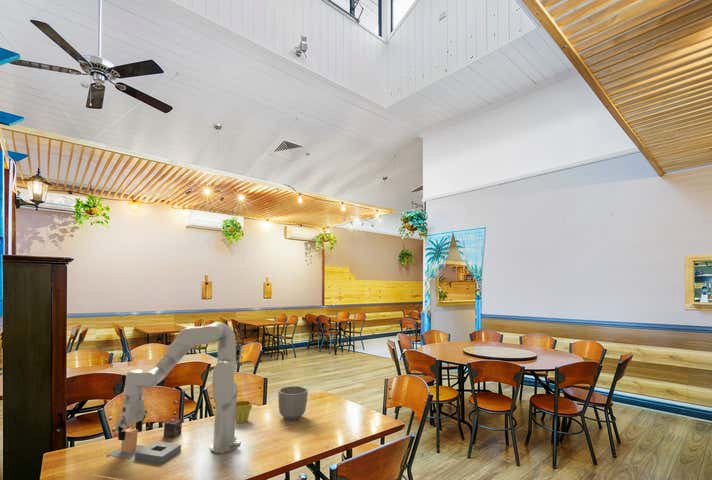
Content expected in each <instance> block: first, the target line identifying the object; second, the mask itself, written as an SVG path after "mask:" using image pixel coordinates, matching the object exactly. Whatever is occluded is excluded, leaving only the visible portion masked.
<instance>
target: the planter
mask: <svg viewBox="0 0 712 480" xmlns="http://www.w3.org/2000/svg"><path fill="white" fill-rule="evenodd" d="M308 395H309V391H308V389H307V388H306V387H304V386H300V385H299V386H298V385H291V386H283V387H280V389H278V394H277V396H278V397H277V398H278V399H277V401H278V411H279V414H280V415H281V416H282V417H283V418H284V420H285V419H286V420H285V421H287V420H289V421H288V422H295V421H299V420H300V418H301V417H302V416H303V415H304V414H305V412H306V409H307V404H308V402H307V401H308ZM294 420H295V421H294Z"/></svg>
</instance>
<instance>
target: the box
mask: <svg viewBox="0 0 712 480" xmlns="http://www.w3.org/2000/svg"><path fill="white" fill-rule="evenodd" d="M182 422H183V419H174V418H173V419H170V420H167V421H166V422H164V425H163V426H164V428H163V438H167V439H168V438H169V439H175V438H177V437H180V436H181V435H182V425H183V423H182Z"/></svg>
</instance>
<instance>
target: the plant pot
mask: <svg viewBox="0 0 712 480" xmlns="http://www.w3.org/2000/svg"><path fill="white" fill-rule="evenodd" d="M252 407H253V402H251V401H250V400H238V401H237V402H236V417H235V423H237V424H243V423H247V422H248V420H249V416H250V413H251V410H252Z"/></svg>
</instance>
